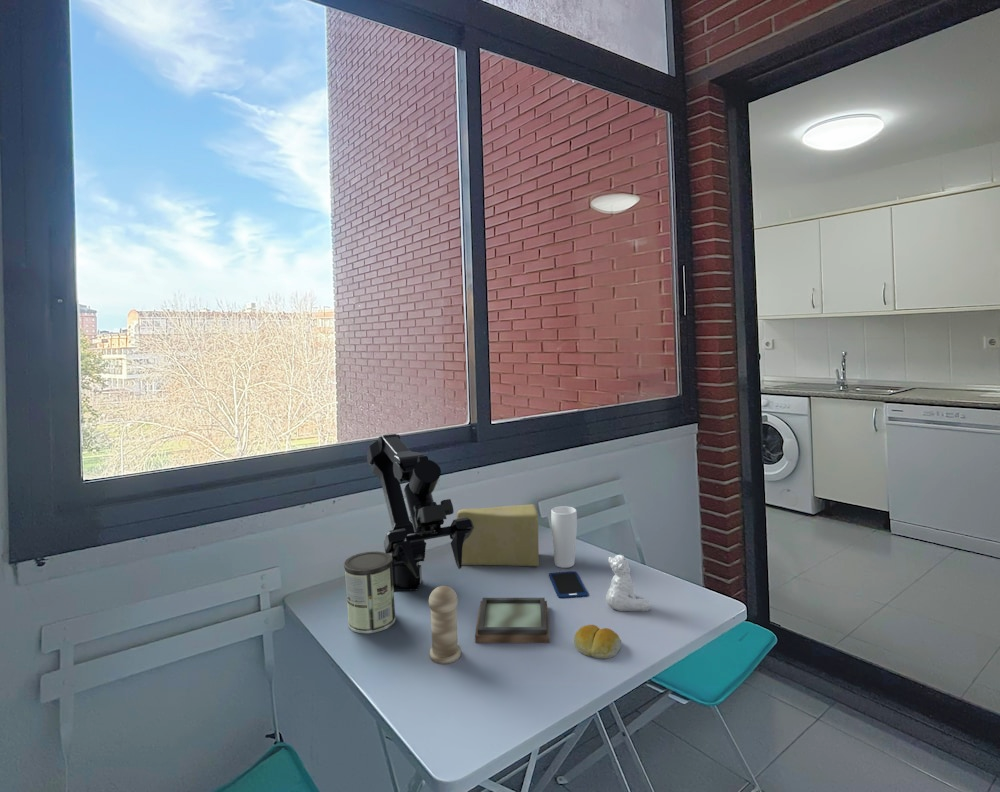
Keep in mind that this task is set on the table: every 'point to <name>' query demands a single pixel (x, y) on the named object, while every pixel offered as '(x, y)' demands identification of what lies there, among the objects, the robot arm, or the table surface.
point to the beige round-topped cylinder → (444, 625)
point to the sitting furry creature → (623, 588)
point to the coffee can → (370, 592)
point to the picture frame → (512, 621)
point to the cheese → (502, 536)
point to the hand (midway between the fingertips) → (439, 572)
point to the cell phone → (568, 584)
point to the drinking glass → (564, 535)
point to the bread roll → (597, 641)
